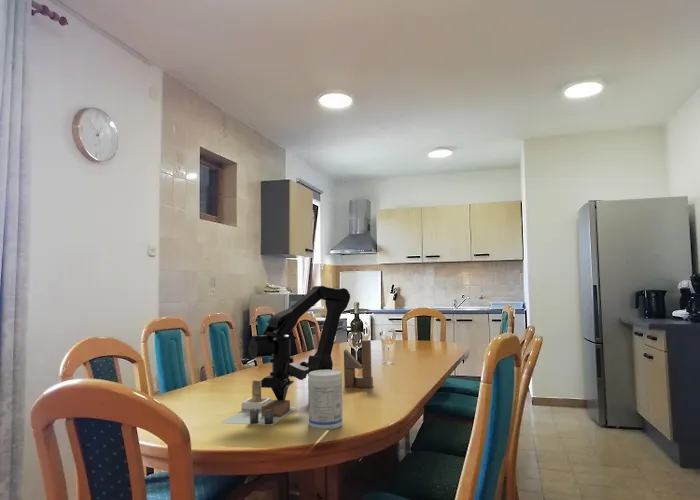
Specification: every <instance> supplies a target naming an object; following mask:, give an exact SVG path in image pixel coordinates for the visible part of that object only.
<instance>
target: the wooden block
mask: <svg viewBox="0 0 700 500" xmlns="http://www.w3.org/2000/svg"><path fill="white" fill-rule="evenodd" d="M371 342H372V341H371V339H362V340H361V363H360V361H358V359H356V357H354V356H353V355H352V353H350V351H349V350H347V349H343V368H344V370H343V373H344V374H343V375H344V379H343V381H344V383H343V385H344V387H345V388H353V387H356V388H370V389H371V388H372V387H373V386H374V377H373V376H372V346H371V345H372V343H371ZM356 369H357V370H358V369H359V370H361V374H362V376H359V375H358V376H357V375H356Z"/></svg>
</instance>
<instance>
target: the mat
mask: <svg viewBox="0 0 700 500" xmlns="http://www.w3.org/2000/svg"><path fill="white" fill-rule="evenodd" d="M297 408H298V406H290V411H288V412H287V413H286V414H284V415H283V416H281V417H273V424H265V416H262V415H261V411H259V423H256V424H255V425H259V426H260V425H262V426H274V425H275V424H277V423H278V422H279V421H281V420H282V419H284V418H285V417H286V416H287V415H289V414H290V413H292V412H294V410H296V409H297ZM220 424H232V425H233V424H235V425H236V424H238V425H252V424H251V423H250V411H242V410H240V411H238V412H236V413H235V414H233V415H231V416H229V417H228V418H226V419H224V420H222V421H221V422H220Z"/></svg>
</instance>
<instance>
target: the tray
mask: <svg viewBox="0 0 700 500" xmlns="http://www.w3.org/2000/svg"><path fill="white" fill-rule="evenodd" d="M271 400H272V398H271V397H261V402H252V396H251V397H250V398H249V397H248V398H247V399H245V400H244V401H241V411H250V410H251V409H259V411H261V406H262V405H264V404H266V403H267V402H269V401H271Z"/></svg>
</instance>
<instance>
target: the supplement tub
mask: <svg viewBox="0 0 700 500" xmlns="http://www.w3.org/2000/svg"><path fill="white" fill-rule="evenodd" d="M342 375H343V374H342V371H340V370H337V369H332V370H316V371H311V372H309V376H307V377H308V378H307V380H308V381H307V391H308V392H307V393H308V395H307V396H308V397H307V398H308V400H307V401H308V403H307V404H308V426H310V427H313V428H319V429H324V428H325V429H326V428H327V429H326V431H330V430H336V429H339V428H340V427H342V425H343V424H344V422H343V419H344V418H343V416H344V414H343V376H342Z"/></svg>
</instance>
